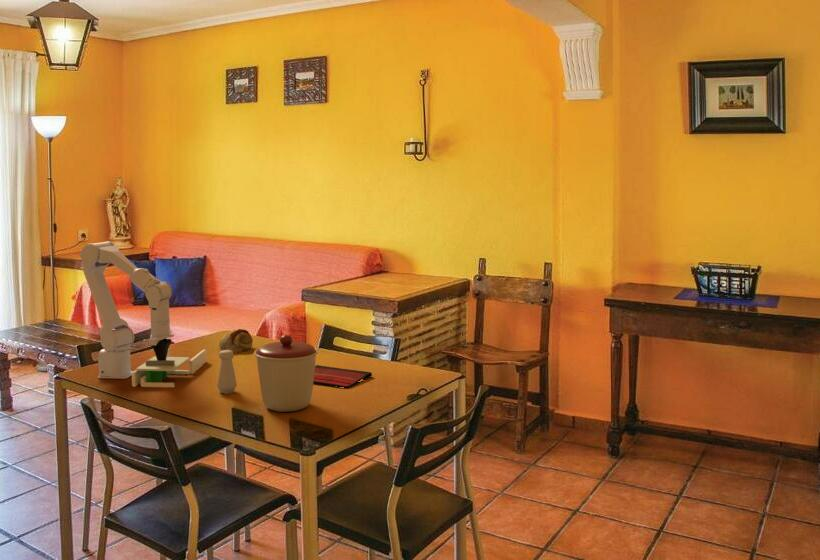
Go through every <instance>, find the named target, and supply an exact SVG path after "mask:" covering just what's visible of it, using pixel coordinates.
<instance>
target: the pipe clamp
mask: <svg viewBox="0 0 820 560" xmlns="http://www.w3.org/2000/svg"><path fill="white" fill-rule="evenodd" d="M162 378H164V379H168V374H167V371H146V382H159V383H163V379H162Z"/></svg>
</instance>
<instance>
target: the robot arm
mask: <svg viewBox="0 0 820 560" xmlns="http://www.w3.org/2000/svg"><path fill="white" fill-rule="evenodd" d="M79 257H80V260H81V261H82V265H83V266H82V267H83V269H82V270H83V275H84V278H85V281H86V283H87V285H88V288H89V290H90V293H91V296H92V299H93V301H94V304H95V306H96V309H97V312H98V314H99V317H100V319H101V322H102V324H101V327H100V328H99V330H98V332H99V335H100V340H99V341H100V345H101V346H102V349H100V350H99V352H98V355H97V356H98V357H97V364H98V376H97V378H98V379H118V380H119V379H123V380H124V379H128V378H130V377H132V372H133V371H134V370H132V369H131V368H132V363H131V347H132V344H133V343H134V341H135V333H134V331H133V329H132V328H131V327H130V326H129V324H128V322H127V320H125V319H123V318H121V317H120V314H119V311H118V309H117V306H116V304H115V301H114V298H113V295H112V293H111V291H110V288H109V285H108V283H107V280H106V277H105V275H104V274H105V273H104V271H105V270H106V268H107V267H108V266H109V265H110V264H111V265H113V266H115V267H116V268H118V269H119V270H120V271H122V272H124V273H125V274H126V275H128V276H129V277H130V282H131V283H132V284H133V285H134V286H135V287H137V288H138V289H140V290H141V291H142V292H143V293H144V294H145V298H146V299H147V302H148V306H149V309H150V310H149V311H150V312H149V314H150V315H149V316H150V337H149V340H148V341H149V346H151V347H152V350H153V351H154V354H155V356H156V358H157V360H166V358H167V353H168V349H169V350H170V345H171V343H172V339H171V338H173V337H175V335H174V333H172V329H171V325H170V324H171V323H170V318H171V317H170V298H171V297H172V296H173V289H172V286H171V285H170V284H169V283H168V282H167V281H161V280H160V279H159V278H157V277H156V276H154V275H153V274H151V273H150V271H149V269H148V268H143V267H139V268H138V267H137V266H136V265H135V264H134V263H132V262H131V260H130V259H128V258H127V256H125V255H124V254H123V253H122V252H121V251H120V249H119V247H118V246H117V245H115V244H114V243H113V242H112V241H110V240H109V241H108V240H107V241H103V242H95V243H94V242H93V243H87V244H85V245H83V247H82V249H81V251H80V252H79Z"/></svg>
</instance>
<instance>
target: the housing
mask: <svg viewBox="0 0 820 560" xmlns="http://www.w3.org/2000/svg"><path fill="white" fill-rule="evenodd" d="M170 353H171V352H170V348H169V349H168V353H167V357H171V355H170ZM154 357H156V355H155V356H154ZM188 361H189V363H188V364H189V370H188V369H187V370H186V369H176V370H175V371H167V375H185V374H187V375H188V376H189V375H194V374H195V372H197V371H198V370H199V369H200V368H201V367H203V366H204V365H205V364H206V363H207V349H202V350H201V351H199V352H198V353H197V354H196V355H195V356H193V357H191V358H190V359H189V360H188ZM203 364H204V365H203ZM196 370H197V371H196ZM132 371H133V372H132V375H131V386H132V387H134V388H135V387H137V386H138V385H139V384H140V387H143V388H175V382H146V371H136V369H135V370H132Z"/></svg>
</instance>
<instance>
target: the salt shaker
mask: <svg viewBox="0 0 820 560" xmlns="http://www.w3.org/2000/svg"><path fill="white" fill-rule="evenodd" d="M218 358H219V359H220V365H219V369H218V370H219V371H218V376H217V377H218V378H217V389H218V391H219V392H220V394H222V393H224V394H223V395H230V394H229V393H231V394H233V393H234V392H235V390H236V388H237V379H236V374H235V370H234V364H233V359H234V353H233V351H231V350H220V351H219V354H218Z"/></svg>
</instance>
